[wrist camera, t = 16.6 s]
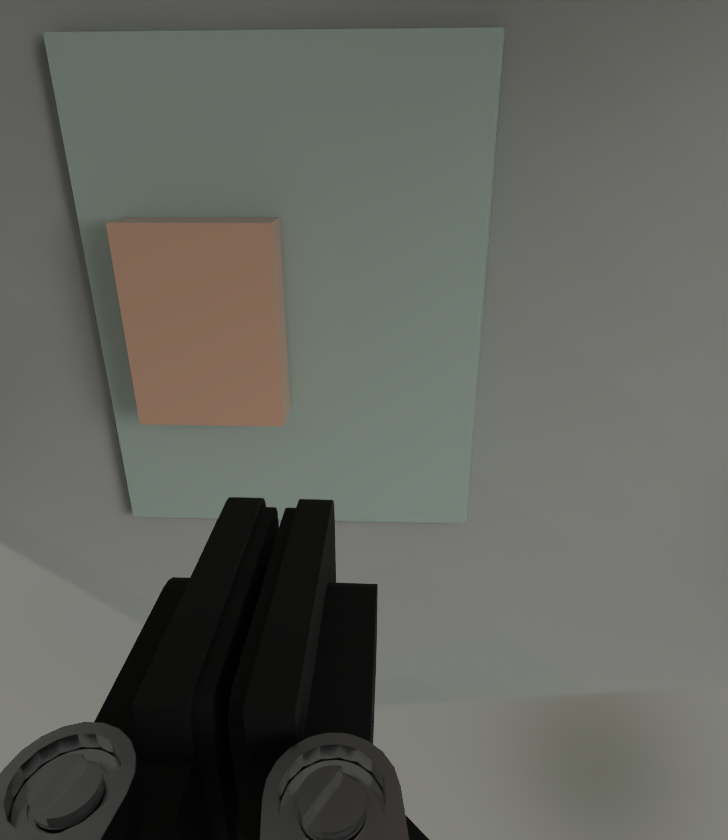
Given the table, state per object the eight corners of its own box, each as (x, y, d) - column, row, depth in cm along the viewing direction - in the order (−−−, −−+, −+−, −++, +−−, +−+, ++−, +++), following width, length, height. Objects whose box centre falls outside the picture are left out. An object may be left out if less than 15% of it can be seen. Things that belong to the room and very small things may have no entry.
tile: (280, 216, 24) (126, 216, 24) (271, 223, 22) (105, 222, 22) (290, 407, 27) (155, 405, 27) (284, 426, 25) (139, 424, 25)
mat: (51, 34, 22) (43, 32, 21) (502, 30, 21) (504, 27, 21) (137, 510, 30) (133, 516, 30) (464, 516, 30) (466, 523, 29)
